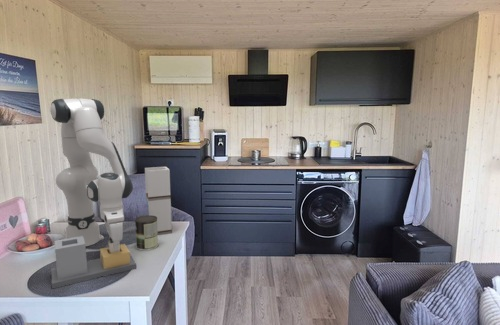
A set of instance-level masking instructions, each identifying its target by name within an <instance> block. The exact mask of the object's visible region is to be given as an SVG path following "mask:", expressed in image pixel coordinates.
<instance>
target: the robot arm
mask: <svg viewBox="0 0 500 325" xmlns="http://www.w3.org/2000/svg"><path fill="white" fill-rule="evenodd" d="M49 111H50V112H49V113H50V114H51V117H52V119H53V120H54V121H55V122H57V123H59V124H60V123H61V125H60V126H61V128H60V135H61V136H60V137H61V145H62V146H61V147H62V153H63V156H64V157H66V159H67V160H68V164H69V167H67V168H64V169H63V170H61V171H60V172H59V173H58V174H57V175H56V178H55V184H56V186H57V187H58V188H59V190H61V191H62V192H63V194H64V197H65V200H66V203H67V213H68V216H67V224H68V226H67V227H66V228H65V229H64V239H68V238H73V237H79V236H83V238H84V241H85V247H89V246H92V245H95V244H97V243H98V242H100V241H102V240H104V239H105V237H104V235H102V234H100V224H99V223H98V222H96V215H95V213H94V203H99V204H100V205H99V212H100V213H99V214H100V219H101V220H103V221H104V228H105V230H106V231H107V233H108V236H109V237H108V239H109V238H111V239H112V241H113V247H114V249H118V248H119V242H121V241H122V240H123V236H124V223H123V221H125V215H124V203H123V200H122V199H127V198H128V197H130V195H131V194H132V192H133V190H134V186H133V182H132V180H131V178H130V176H129V175H128V173H127V171H126V168H125V166H124V163H123V160H122V159H121V155H120V153H119V151H118V148H117V146H116V144H115V143H114V142H113V141H111V140H110V139H108V137H107V135H106V134H105V132H104V127H103V123H102V119H103V118H104V116H105V107H104V104H103V103H102V101H100V100H98V99H93V98H92V99H89V98H80V97H78V98H65V99H63V98H58V99H57V98H56V99H54V100H52V102H51V103H50V110H49ZM91 154H95V155H99V156H102V157H104V158H105V159H107V160H108V162H109V164H110V167H111V169H112V172H104V173H102V174H100V175H99V171H98V169H97V167H96V166H95V165H94V162H93V160H92V157H91ZM98 175H99V177H98Z"/></svg>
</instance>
